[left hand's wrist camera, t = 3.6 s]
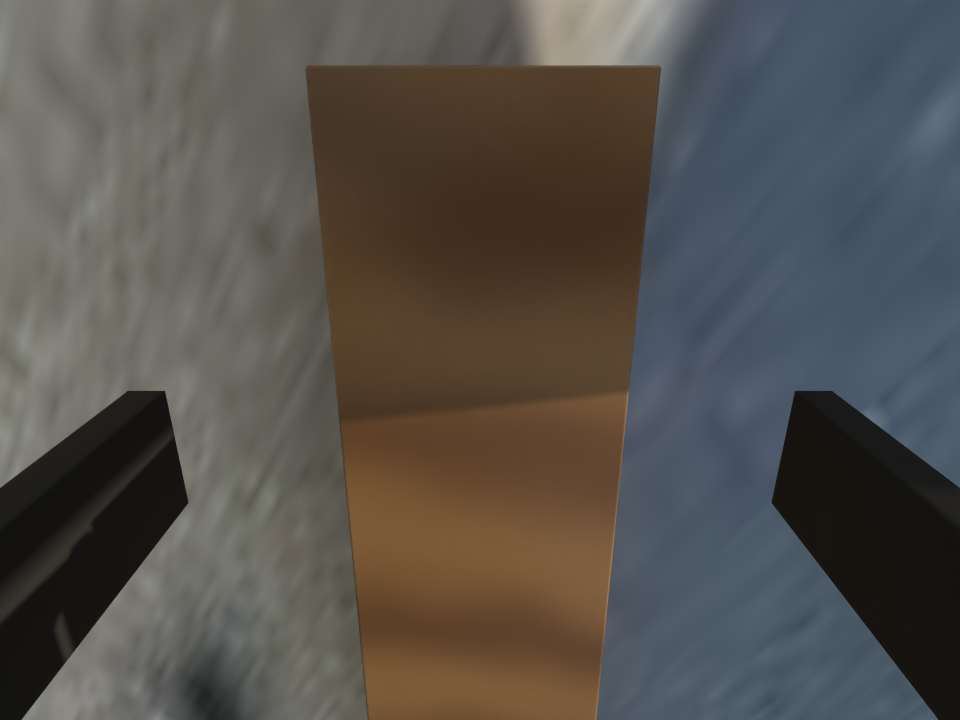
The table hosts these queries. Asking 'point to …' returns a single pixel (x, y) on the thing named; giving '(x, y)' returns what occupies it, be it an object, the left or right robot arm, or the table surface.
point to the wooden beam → (482, 369)
